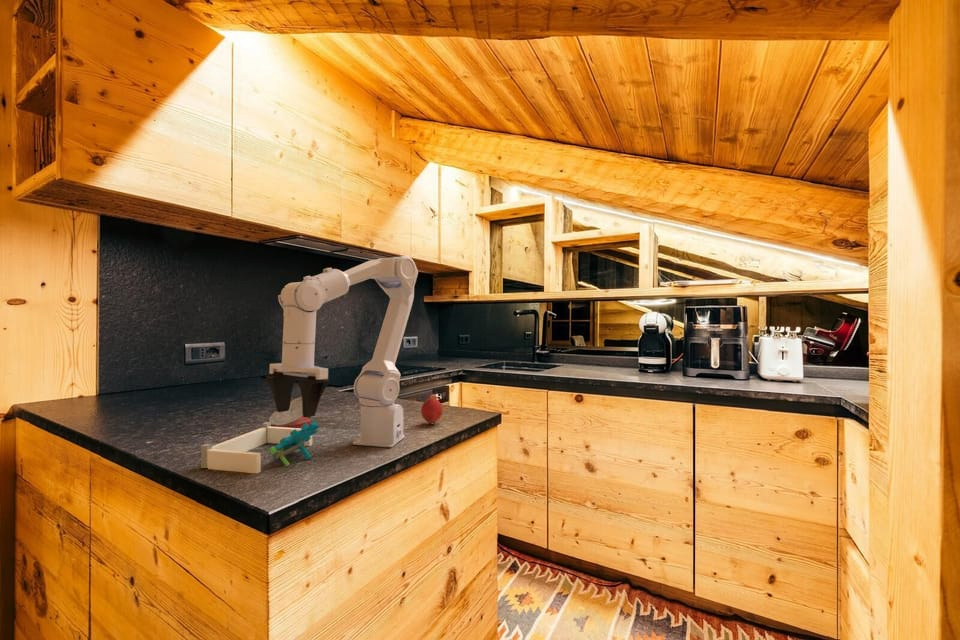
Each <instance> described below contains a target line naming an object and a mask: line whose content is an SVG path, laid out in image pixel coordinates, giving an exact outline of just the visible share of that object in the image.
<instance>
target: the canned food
mask: <svg viewBox="0 0 960 640" xmlns="http://www.w3.org/2000/svg"><path fill="white" fill-rule="evenodd" d="M268 422H271V427H286V428H300V429H301V426H303V425H304V424H306V423H307V425H308V426H309V424H310V423H311V422H312V416H311V417H303V411H302V396H300V397H297V398H294V399H293V400H292V399H291V402H290V408H289V411H284V412H277V410H276V411H274V412H273V413H272V414H271V415H270V417H269V420H268Z"/></svg>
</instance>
